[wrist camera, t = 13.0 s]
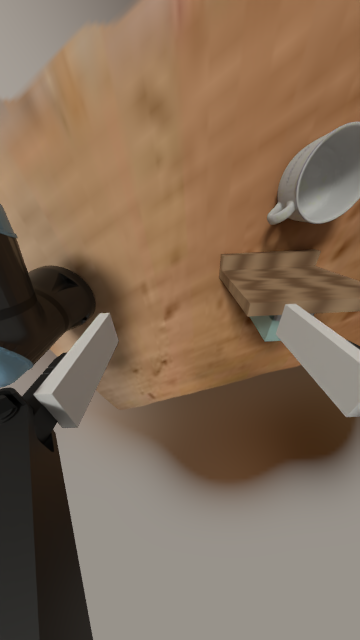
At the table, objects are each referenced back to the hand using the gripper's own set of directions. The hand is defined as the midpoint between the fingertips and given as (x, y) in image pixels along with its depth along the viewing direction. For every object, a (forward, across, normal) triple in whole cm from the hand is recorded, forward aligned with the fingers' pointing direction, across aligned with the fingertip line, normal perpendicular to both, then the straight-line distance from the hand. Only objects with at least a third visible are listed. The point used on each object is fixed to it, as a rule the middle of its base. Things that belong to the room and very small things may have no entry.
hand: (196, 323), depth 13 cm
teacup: (+27, +20, +10) cm, 35 cm away
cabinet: (+22, +18, -9) cm, 30 cm away
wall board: (+27, +18, -5) cm, 33 cm away
